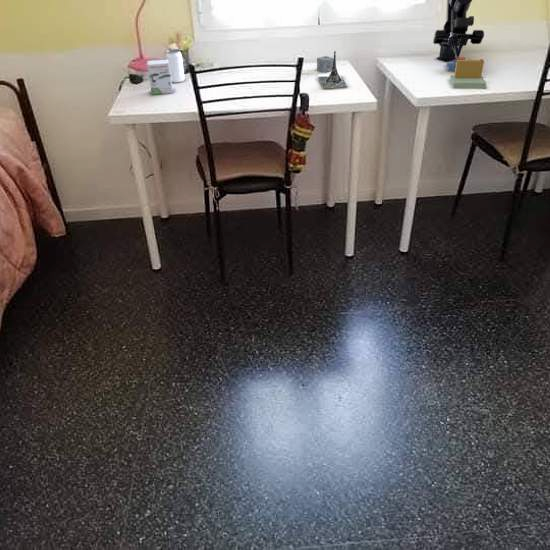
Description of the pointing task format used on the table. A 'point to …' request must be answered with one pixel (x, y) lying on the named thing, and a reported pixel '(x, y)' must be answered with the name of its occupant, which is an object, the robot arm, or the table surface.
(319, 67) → the dice cube
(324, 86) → the eiffel tower figurine
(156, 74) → the ink box
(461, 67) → the brass bar
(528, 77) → the table surface
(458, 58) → the red button
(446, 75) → the table surface
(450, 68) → the button box
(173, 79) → the can
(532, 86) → the table surface
